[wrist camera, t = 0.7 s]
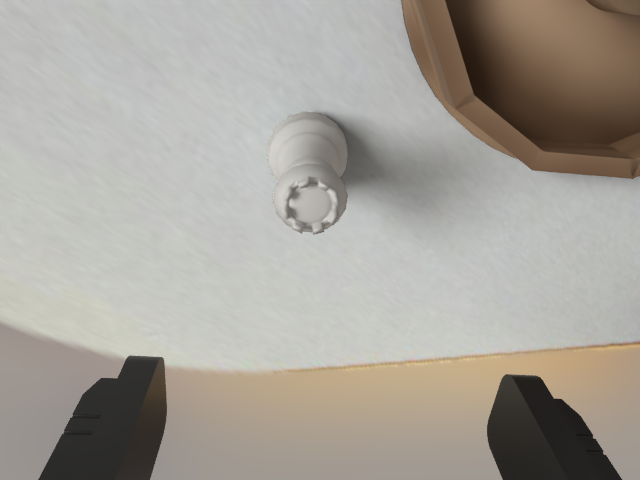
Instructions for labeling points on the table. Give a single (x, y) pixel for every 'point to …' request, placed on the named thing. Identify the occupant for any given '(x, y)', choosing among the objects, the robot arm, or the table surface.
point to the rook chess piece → (308, 171)
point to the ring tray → (538, 77)
